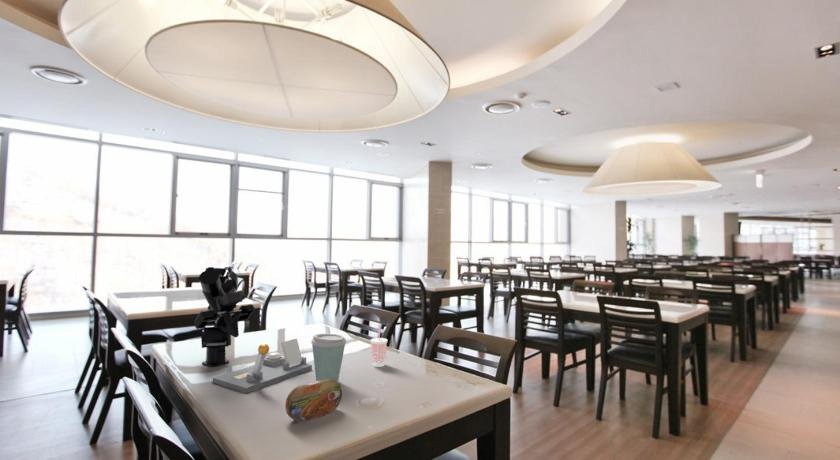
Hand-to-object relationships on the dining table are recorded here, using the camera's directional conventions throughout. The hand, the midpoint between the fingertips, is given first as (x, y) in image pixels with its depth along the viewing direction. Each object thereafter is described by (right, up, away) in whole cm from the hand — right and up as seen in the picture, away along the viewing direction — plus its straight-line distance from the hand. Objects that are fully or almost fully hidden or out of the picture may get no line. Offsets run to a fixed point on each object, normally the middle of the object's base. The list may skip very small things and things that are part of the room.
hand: (237, 336), depth 129 cm
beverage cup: (+44, -15, +17) cm, 49 cm away
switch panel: (+8, -14, +3) cm, 16 cm away
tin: (+31, -14, -26) cm, 43 cm away
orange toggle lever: (+8, -11, -5) cm, 15 cm away
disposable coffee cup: (+30, -14, -3) cm, 33 cm away
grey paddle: (+16, -12, +9) cm, 22 cm away
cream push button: (+8, -11, +11) cm, 17 cm away
